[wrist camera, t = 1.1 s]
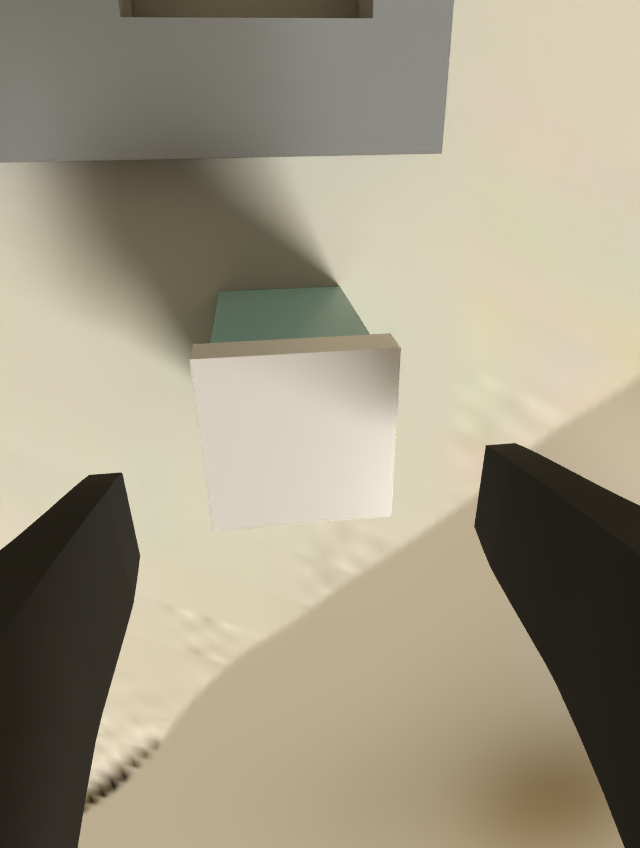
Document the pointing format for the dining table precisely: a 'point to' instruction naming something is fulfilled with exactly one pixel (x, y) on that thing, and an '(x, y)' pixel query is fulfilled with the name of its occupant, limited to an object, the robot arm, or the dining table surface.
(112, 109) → the socket plate
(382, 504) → the plug
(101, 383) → the dining table surface
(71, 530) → the robot arm
